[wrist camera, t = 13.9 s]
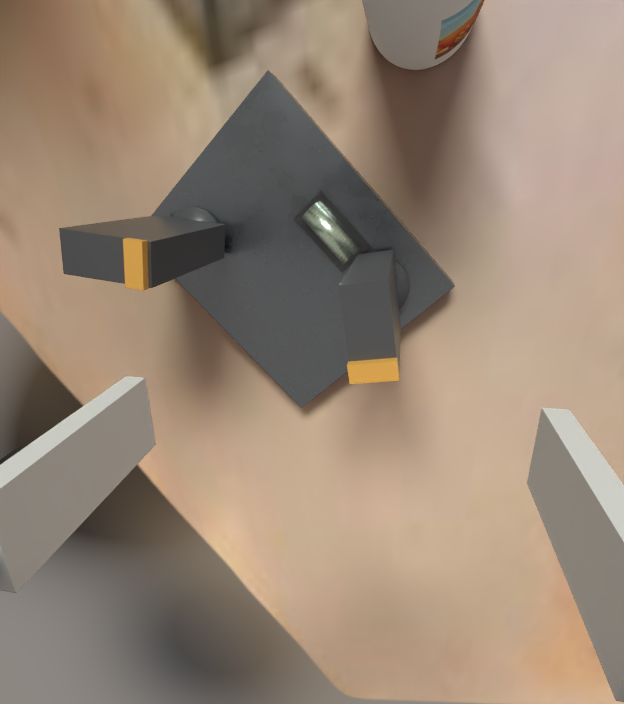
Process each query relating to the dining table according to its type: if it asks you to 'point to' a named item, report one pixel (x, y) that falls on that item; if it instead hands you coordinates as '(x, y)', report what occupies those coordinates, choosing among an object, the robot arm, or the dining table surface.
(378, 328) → the knob
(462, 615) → the dining table surface
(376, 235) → the levelling plate
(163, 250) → the yellow-tipped grey bar
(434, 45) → the milk bottle
